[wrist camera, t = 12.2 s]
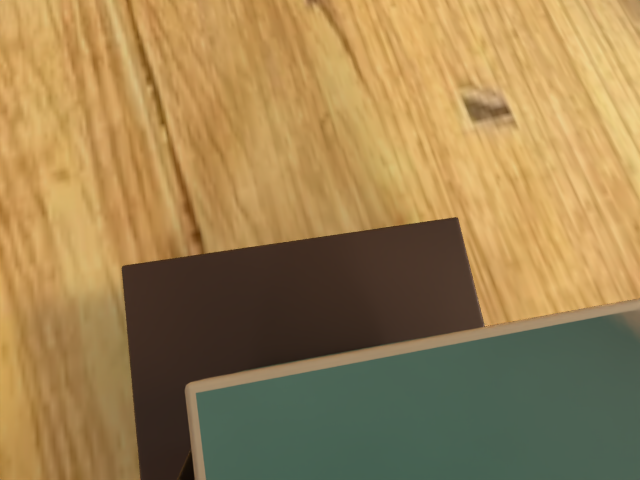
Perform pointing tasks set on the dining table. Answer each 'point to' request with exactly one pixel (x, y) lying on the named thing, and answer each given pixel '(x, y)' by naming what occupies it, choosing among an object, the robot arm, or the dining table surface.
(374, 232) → the stand
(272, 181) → the dining table surface
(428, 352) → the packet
